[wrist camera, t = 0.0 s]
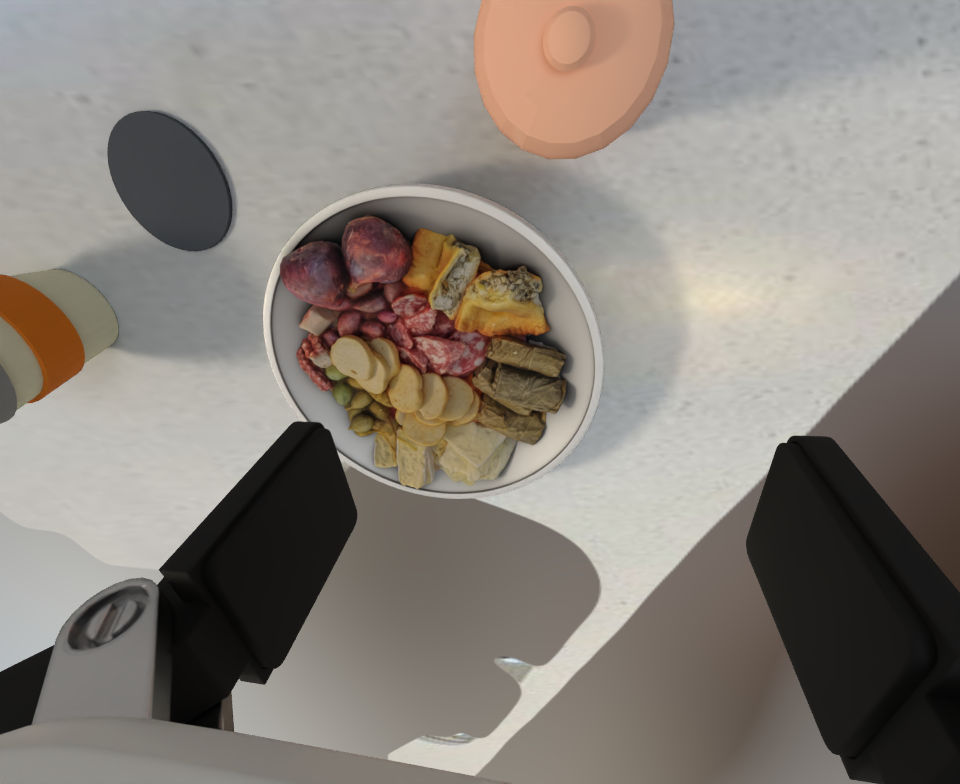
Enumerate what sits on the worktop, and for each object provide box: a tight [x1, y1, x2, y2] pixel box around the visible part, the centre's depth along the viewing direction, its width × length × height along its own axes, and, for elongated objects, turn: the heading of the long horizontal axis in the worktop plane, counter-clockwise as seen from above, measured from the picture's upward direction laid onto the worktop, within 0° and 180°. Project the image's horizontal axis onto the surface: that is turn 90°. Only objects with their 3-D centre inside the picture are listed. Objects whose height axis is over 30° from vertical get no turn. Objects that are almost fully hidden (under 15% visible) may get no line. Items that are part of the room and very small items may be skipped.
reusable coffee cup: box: [0, 269, 119, 424], centre depth 41 cm, size 13×13×15 cm
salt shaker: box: [474, 0, 674, 159], centre depth 21 cm, size 7×7×19 cm
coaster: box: [108, 111, 232, 251], centre depth 38 cm, size 11×11×1 cm
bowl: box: [263, 183, 604, 499], centre depth 39 cm, size 30×30×8 cm
